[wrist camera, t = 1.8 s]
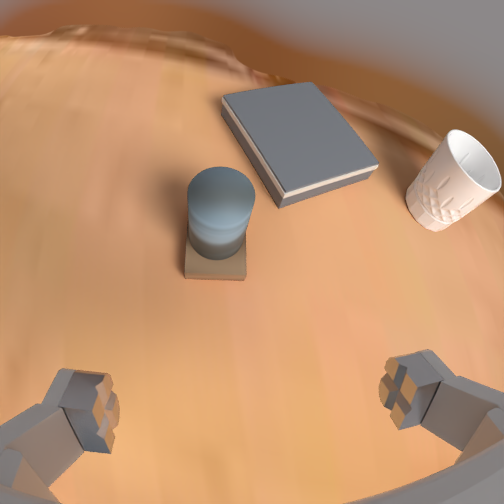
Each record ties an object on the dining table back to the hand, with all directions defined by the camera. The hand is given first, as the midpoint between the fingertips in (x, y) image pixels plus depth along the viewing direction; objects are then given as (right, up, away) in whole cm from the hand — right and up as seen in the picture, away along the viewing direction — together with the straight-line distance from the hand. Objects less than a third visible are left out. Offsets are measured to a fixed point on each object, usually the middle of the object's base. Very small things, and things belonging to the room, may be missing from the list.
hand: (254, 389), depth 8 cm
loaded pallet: (-3, +5, +20) cm, 21 cm away
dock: (+5, +16, +27) cm, 31 cm away
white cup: (+21, +9, +26) cm, 35 cm away
